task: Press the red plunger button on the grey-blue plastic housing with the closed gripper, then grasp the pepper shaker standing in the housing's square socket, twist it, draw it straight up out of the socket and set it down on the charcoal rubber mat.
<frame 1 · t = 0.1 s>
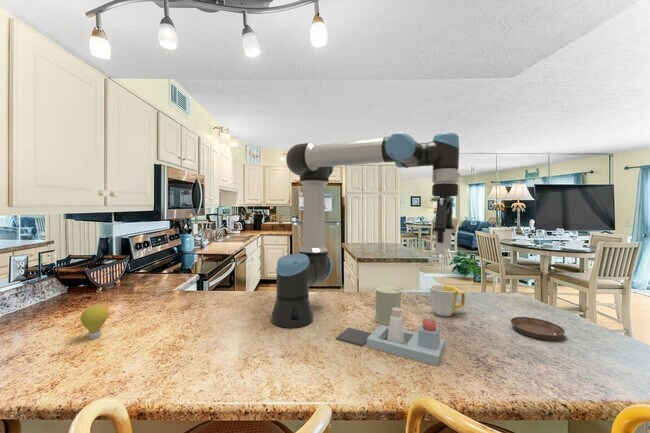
hand: (443, 251, 91), 28 cm above the countertop, fingers open, 13 cm apart
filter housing: (405, 347, 85), on the countertop
light bulb: (94, 338, 89), on the countertop
mug: (447, 314, 113), on the countertop
mat: (355, 337, 91), on the countertop
plunger: (429, 325, 82), point 8 cm above the countertop, slide at 0.0 cm, touching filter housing
pepper shaker: (395, 345, 87), resting in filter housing
can: (387, 321, 106), on the countertop
saucer: (536, 333, 97), on the countertop
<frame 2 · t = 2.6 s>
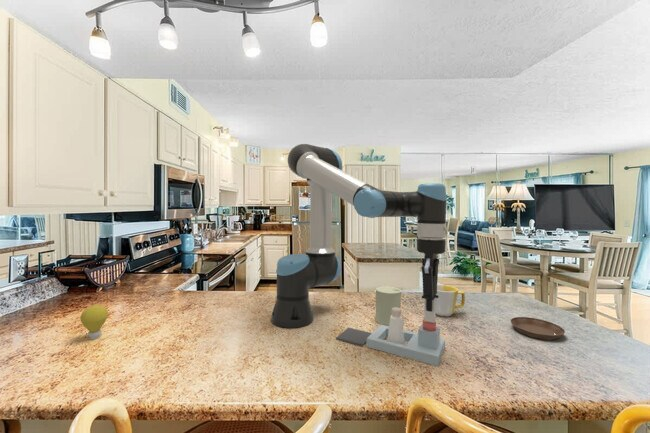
hand: (429, 321, 82), 9 cm above the countertop, fingers closed
plunger: (429, 325, 82), point 8 cm above the countertop, slide at 0.0 cm, touching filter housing, gripper
everything else where it was.
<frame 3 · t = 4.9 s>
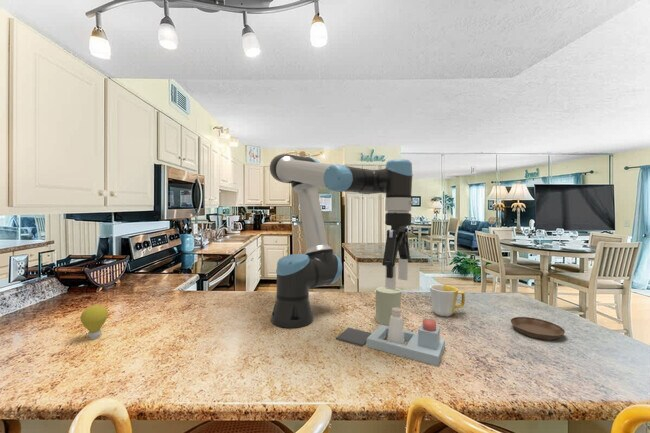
hand: (396, 284, 86), 18 cm above the countertop, fingers open, 12 cm apart
plunger: (429, 325, 82), point 8 cm above the countertop, slide at 0.0 cm, touching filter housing
everything else where it was.
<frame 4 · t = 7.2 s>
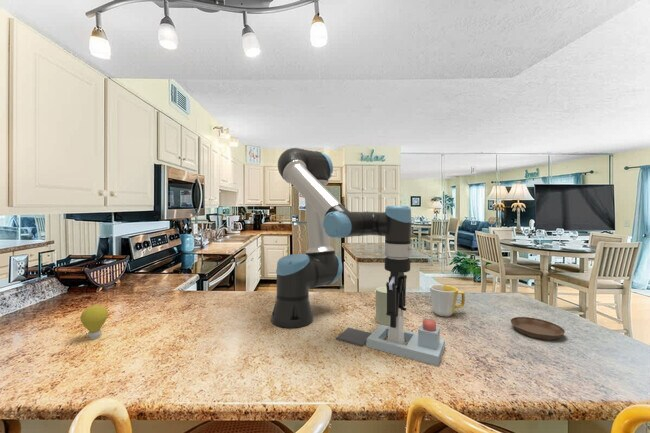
hand: (396, 334, 87), 3 cm above the countertop, fingers closed on pepper shaker, 4 cm apart
pepper shaker: (395, 345, 87), resting in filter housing, touching gripper
everything else where it was.
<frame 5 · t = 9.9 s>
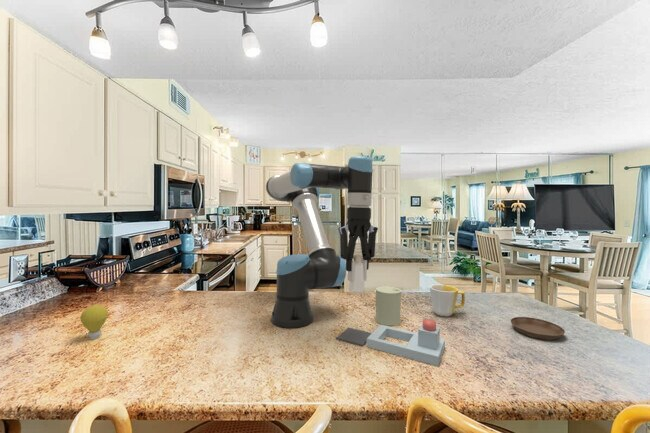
hand: (357, 280, 91), 18 cm above the countertop, fingers closed on pepper shaker, 4 cm apart
pepper shaker: (356, 290, 91), point 15 cm above the countertop, touching gripper
everything else where it was.
when the fingers open (5 cm above the countertop, at t = 12.7 s): pepper shaker drops 1 cm, resting on mat.
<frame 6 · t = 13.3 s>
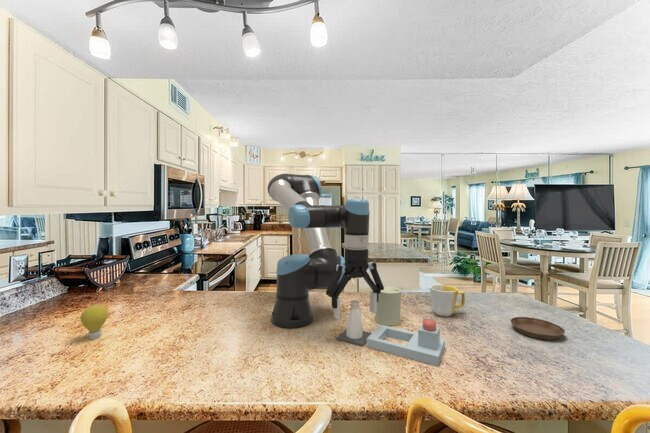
hand: (355, 315, 91), 7 cm above the countertop, fingers open, 13 cm apart
pepper shaker: (354, 336, 91), resting on mat
everything else where it was.
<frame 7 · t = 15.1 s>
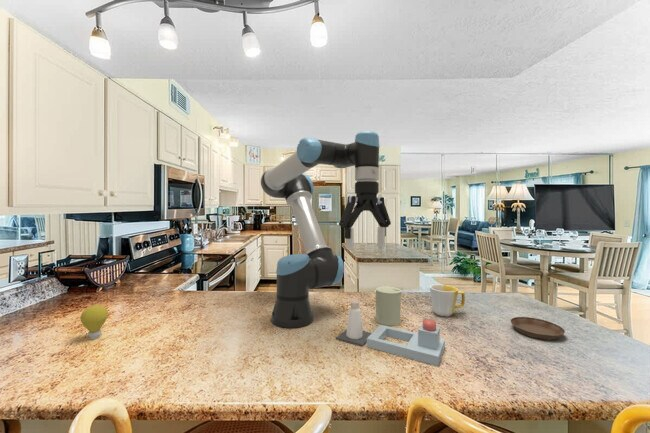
hand: (366, 248, 92), 28 cm above the countertop, fingers open, 13 cm apart
nothing on the countertop moved.
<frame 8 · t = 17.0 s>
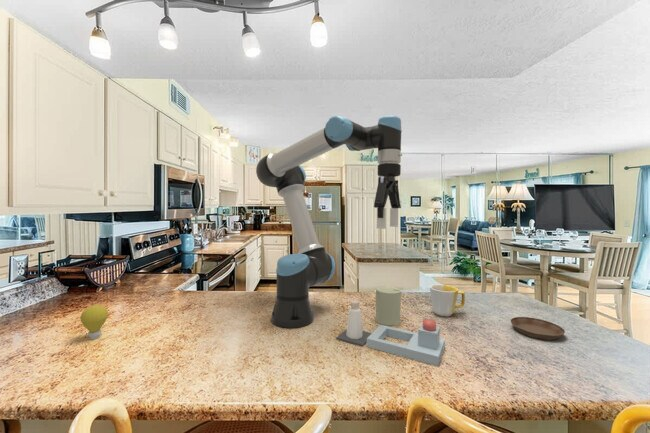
hand: (387, 227, 97), 35 cm above the countertop, fingers open, 13 cm apart
nothing on the countertop moved.
at the end: pepper shaker 0.3 cm from the mat (horizontally); pepper shaker tilted 0°; pepper shaker touching mat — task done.
